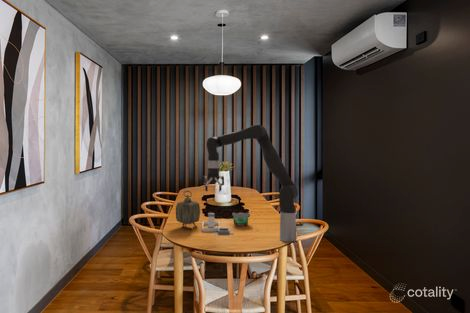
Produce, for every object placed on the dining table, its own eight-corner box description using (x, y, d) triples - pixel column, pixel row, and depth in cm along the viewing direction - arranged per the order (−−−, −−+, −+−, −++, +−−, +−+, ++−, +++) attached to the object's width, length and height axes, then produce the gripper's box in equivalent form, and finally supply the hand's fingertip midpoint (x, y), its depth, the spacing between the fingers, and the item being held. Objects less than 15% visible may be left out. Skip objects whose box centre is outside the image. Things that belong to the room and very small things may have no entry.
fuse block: (232, 232, 218) (232, 227, 218) (233, 236, 210) (233, 231, 210) (214, 232, 217) (214, 228, 217) (214, 236, 209) (214, 231, 209)
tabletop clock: (199, 227, 228) (200, 191, 226) (191, 231, 220) (191, 192, 219) (183, 224, 235) (183, 189, 234) (174, 227, 227) (174, 190, 226)
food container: (233, 228, 227) (233, 214, 226) (231, 226, 233) (232, 212, 232) (251, 228, 229) (251, 213, 229) (249, 225, 235) (249, 211, 235)
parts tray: (219, 225, 234) (219, 221, 234) (220, 232, 216) (220, 227, 216) (202, 225, 233) (202, 221, 233) (201, 233, 215) (201, 228, 215)
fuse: (214, 227, 227) (214, 212, 226) (214, 229, 223) (214, 214, 222) (208, 227, 227) (208, 212, 226) (208, 229, 222) (208, 214, 222)
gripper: (223, 166, 228) (223, 190, 229) (202, 166, 227) (202, 190, 228) (224, 167, 221) (224, 192, 222) (202, 167, 220) (202, 192, 220)
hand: (213, 191), depth 225 cm, fingers open, 8 cm apart
